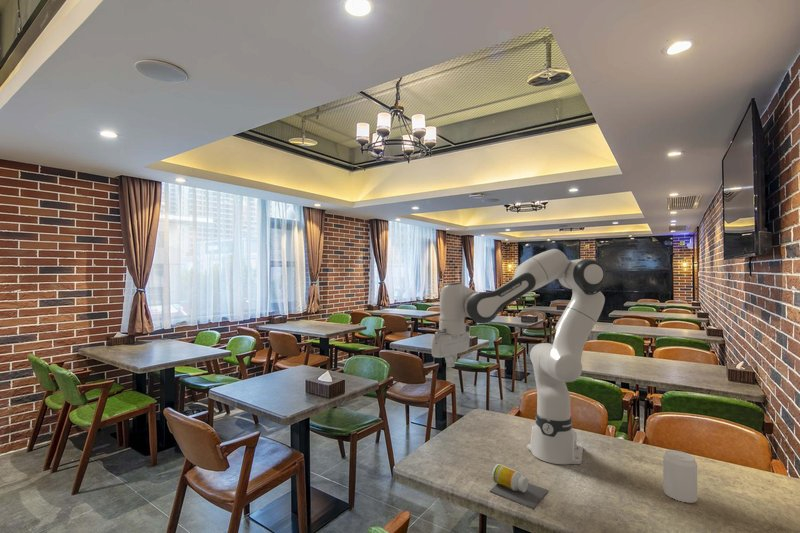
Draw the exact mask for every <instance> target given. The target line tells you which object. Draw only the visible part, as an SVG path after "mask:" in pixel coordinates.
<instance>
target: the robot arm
mask: <svg viewBox="0 0 800 533" xmlns="http://www.w3.org/2000/svg"><path fill="white" fill-rule="evenodd" d="M605 279H606V270H605V267H604V266H603V264H602V263H601V262H599V261H598V260H595V259H592V258H591V259H590V258H585V259H584V258H578V259H571V260H569V258H568V257H567V256H566V254H565V253H564V252H563V251H561V250H560V249H558V248H551V249H548V250H546V251H542V252H540V253H538V254H535V255H534V256H531V257H530V258H528V259H527V260H524V261H522V263H520V264H518V265H517V267H516V268H515V269H514V272H513V278H512V279H511V280H510V281H508V282H505V283H504V284H503V285H501V286H499V287H498V288H496V289H495V290H492V291H489V292H478V291H476V290H474V289H471V288H470V287H468V286H466V285H465V284H464V283H463V282H460V281H458V282H450V283H446V284H444V285H443V286H442V287H441V289H440V292H439V293H440V294H439V310H440V312H439V313H440V314H439V317H438V326H439V327H438V330H436V331H435V333H434V336H433V337H432V342H431V356H432V357H433V358H438V359H441V358H444V360H445V363H446V368H453V367H455V366H456V360H457V358H458V354H460V353H465V352H467V351H468V350H469V348H470V340H471V339H470V338H471V336H470V332H471V325H469V324H467V323H465V318H470V319H472V320H473V322H475V323H478V324H487V323H490V322H492V321H493V320H495V318H497V316H498V314H499V313H500V312H501V311H502V310H503V309H504V308H505V307H506V306H508V305H509V304H512V303H513V302H514V301H516V300H518V299H520V298H521V297H522V296H524V295H525V294H528V293H530V292H533V291H536V290H539V289H540V288H543V287H545V286H546V285H547V284H550V283H551V282H552V281H555V282H556V283H557V285H558V286H560V287H561V288H564V289H566V290H571V291H572V295H571V299H570V301H569V302H568V304H567V305H566V307H565V309H564V311H562V314H561V315H560V317H559V319H558V320H557V322H556V324H555V335H554V339H553V342H552V343H549V342H542V343H537V344H535V345H534V346H533V347H532V348H531V350H530V353H529V358H530V361H531V365H532V367H533V368H532V369H533V375H534V379H535V380H534V381H535V385H536V391H537V393H536V399H537V400H536V401H537V402H536V404H537V405H536V407H537V408H536V412H535V417H534V418H535V424H533V426H532V427H531V433H530V434H531V435H530V443H528V444H527V445H526V449H527V450H528V451H530V452H531V453H532V455H533V456H534V457H535V458H537V459H538V460H541V461H544V462H546V463H549V464H555V465H571V464H572V465H573V464H574V465H581V464H582V462H583V454H584V446H583V445H582V444H580V443H578V439H577V438H578V437H577V432H576V431H575V430H574V428H573V422H572V420H573V414H571V395H570V394H571V393H570V392H569V389H568V387H567V383H572V382H575V381H577V380H578V379H579V378H580V376H581V375H582V373H583V364H582V356H583V351H584V347H585V344H586V342H587V340H588V338H589V336H590V334H591V332H592V330H593V329H594V326H595V325H596V324H597V322H598V320H599V317H600V316H601V314H602V311H603V308H604V305H605V303H606V302H605V301H606V297H605V296H604V294H603V293H602V290H603V288H604V283H605Z"/></svg>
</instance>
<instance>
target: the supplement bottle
mask: <svg viewBox="0 0 800 533" xmlns="http://www.w3.org/2000/svg"><path fill="white" fill-rule="evenodd" d="M491 478H492V480H493V482H494V483H496V484H500V485H502V486H504V487H507V488H509V489H511V490H513V491H517V490H519V491H522V492H525V491H526V490H527V487H528V483H529V478H528V477H526V476H524V475H522V474H521V472H520V471H518V470H515V469H512V468H510V467H508V466H505V465H503V464H501V463H498V464H495V465H494V467H493V469H492V473H491Z"/></svg>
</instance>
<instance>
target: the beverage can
mask: <svg viewBox="0 0 800 533" xmlns="http://www.w3.org/2000/svg"><path fill="white" fill-rule="evenodd" d="M662 458H663V460H662V466H663V468H662V469H663V470H662V476H663V477H662V479H663V480H662V491H663V493H664V494H665V495H667V496H668V497H669V498H670V499H672V498H673V500H674V499H675V500H674V501H677V500H678V502H680V501H681V502H680V503H684V502H687V504H689V503H690V504H692V503H696V502H697V501H698V463H697V461H696V459H695V456H693V455H691V454H690V453H687V452H684V451H681V450H675V449H668V450H665V451H664V454H663V456H662Z"/></svg>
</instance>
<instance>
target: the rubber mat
mask: <svg viewBox="0 0 800 533" xmlns="http://www.w3.org/2000/svg"><path fill="white" fill-rule="evenodd" d="M548 492H549V489H546V488H543V487H541V486H538V485H535V484H532V483H529V482H528V487H527V490H526V491H525V492H522V491H519V490H517V491H513V490H511V489H509V488H507V487H504V486H502V485H500V484H498V483H496V484H495V485H493V487H492V488H491V489H490V490H489V493H492V494H495V495H497V496H500V497H502V498H505V499H507V500H510V501H512V502H514V503H517V504H519V505H522V506H525V507H527V508H530V509H531V510H534V509H535V508H536V506H537V505H538V504H539V503H540V502H541V501H542V499H543V498H544V497H545V496H546V494H547V493H548Z"/></svg>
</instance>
